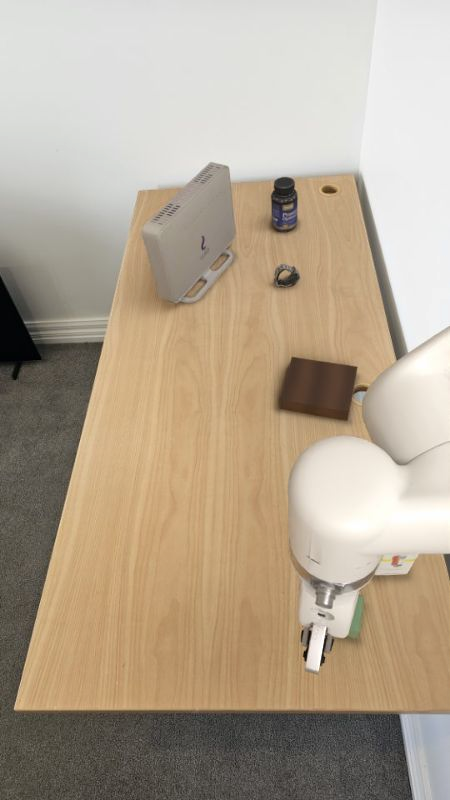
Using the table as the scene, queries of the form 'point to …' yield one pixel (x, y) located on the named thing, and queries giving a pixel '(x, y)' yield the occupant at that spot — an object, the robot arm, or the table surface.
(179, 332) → the table surface
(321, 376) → the walnut block
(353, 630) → the green cube
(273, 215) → the pill bottle
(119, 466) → the table surface
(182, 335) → the table surface
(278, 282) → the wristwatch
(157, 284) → the network device
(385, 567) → the ink box
